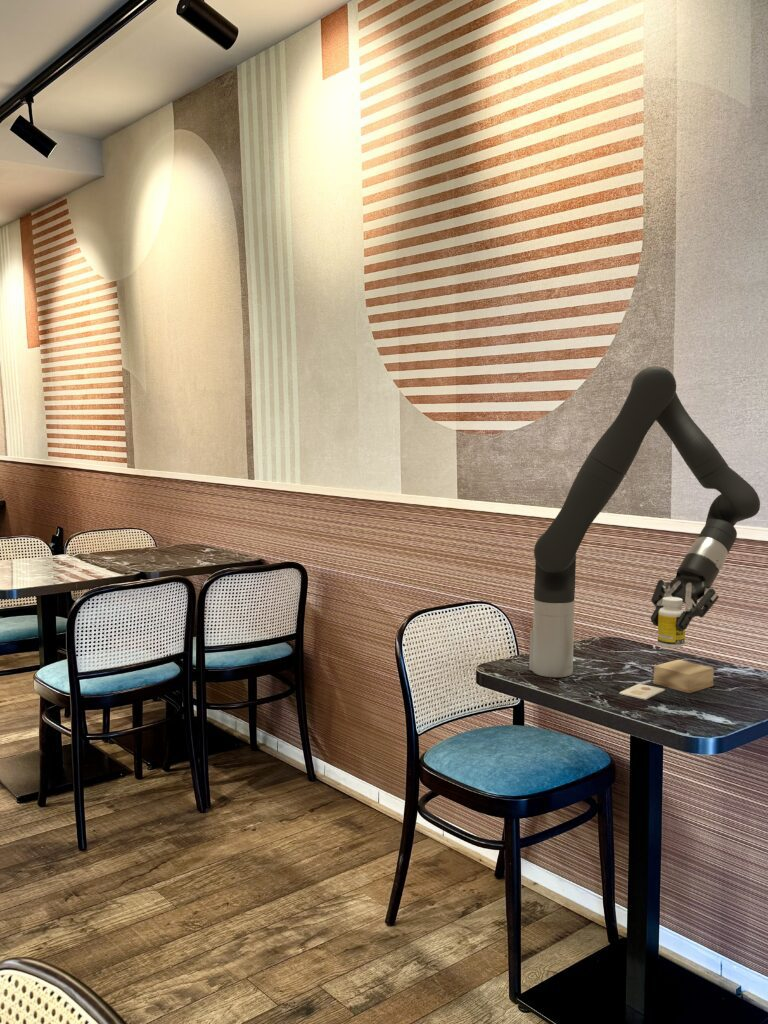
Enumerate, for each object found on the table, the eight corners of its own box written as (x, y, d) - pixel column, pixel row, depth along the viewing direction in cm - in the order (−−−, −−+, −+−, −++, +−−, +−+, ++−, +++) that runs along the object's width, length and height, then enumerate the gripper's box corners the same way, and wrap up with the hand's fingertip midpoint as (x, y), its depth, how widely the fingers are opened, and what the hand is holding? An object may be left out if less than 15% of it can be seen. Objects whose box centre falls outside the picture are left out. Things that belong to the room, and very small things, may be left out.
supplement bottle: (678, 649, 183) (679, 602, 182) (653, 645, 187) (654, 598, 186) (689, 644, 187) (690, 598, 186) (664, 640, 191) (665, 595, 190)
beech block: (652, 683, 201) (653, 665, 200) (677, 676, 206) (678, 659, 206) (688, 693, 193) (689, 675, 193) (713, 685, 199) (714, 668, 198)
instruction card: (619, 693, 193) (619, 692, 193) (638, 684, 199) (639, 683, 199) (645, 699, 189) (645, 697, 189) (664, 690, 195) (664, 688, 195)
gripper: (666, 548, 195) (629, 609, 189) (726, 556, 184) (688, 621, 178) (680, 569, 199) (645, 630, 193) (740, 578, 187) (704, 643, 182)
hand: (666, 626), depth 185 cm, fingers closed on supplement bottle, 5 cm apart
